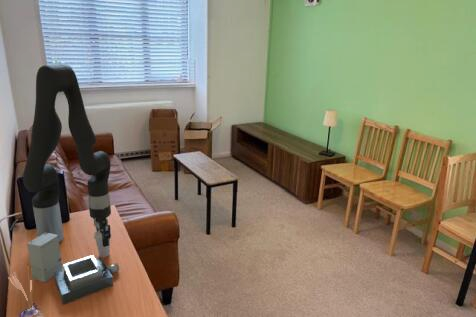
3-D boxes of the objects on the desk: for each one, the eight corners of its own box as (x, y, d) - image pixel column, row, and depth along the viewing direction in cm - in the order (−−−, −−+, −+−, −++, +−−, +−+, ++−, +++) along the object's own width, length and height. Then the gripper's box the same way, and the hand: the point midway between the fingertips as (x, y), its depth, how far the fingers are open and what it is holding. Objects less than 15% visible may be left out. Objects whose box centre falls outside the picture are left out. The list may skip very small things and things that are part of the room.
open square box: (55, 281, 119) (52, 265, 117) (112, 262, 131) (111, 246, 129) (63, 304, 110) (60, 287, 107) (124, 281, 122) (123, 265, 119)
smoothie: (107, 260, 132) (104, 229, 127) (92, 257, 133) (88, 226, 128) (116, 251, 138) (113, 221, 133) (101, 248, 139) (98, 218, 134)
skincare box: (45, 283, 119) (39, 247, 113) (32, 279, 120) (25, 243, 115) (63, 268, 126) (58, 234, 121) (50, 265, 128) (45, 230, 123)
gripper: (83, 198, 131) (88, 236, 136) (94, 214, 120) (99, 254, 126) (103, 194, 135) (107, 230, 141) (116, 209, 124) (119, 247, 130)
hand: (103, 241), depth 133 cm, fingers closed on smoothie, 6 cm apart
